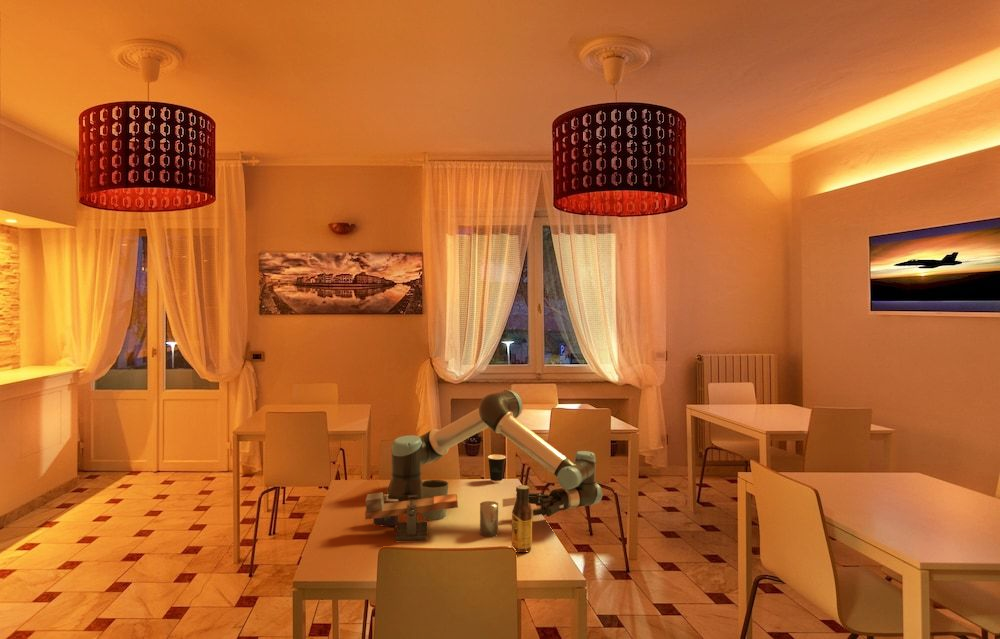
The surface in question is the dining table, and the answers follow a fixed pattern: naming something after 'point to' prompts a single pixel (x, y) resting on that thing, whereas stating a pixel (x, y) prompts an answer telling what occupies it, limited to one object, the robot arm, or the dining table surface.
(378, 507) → the beam
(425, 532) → the beam stand
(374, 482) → the dining table surface
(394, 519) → the flask
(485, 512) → the glass jar
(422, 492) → the grey cylindrical container
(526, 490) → the sauce bottle
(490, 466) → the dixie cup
